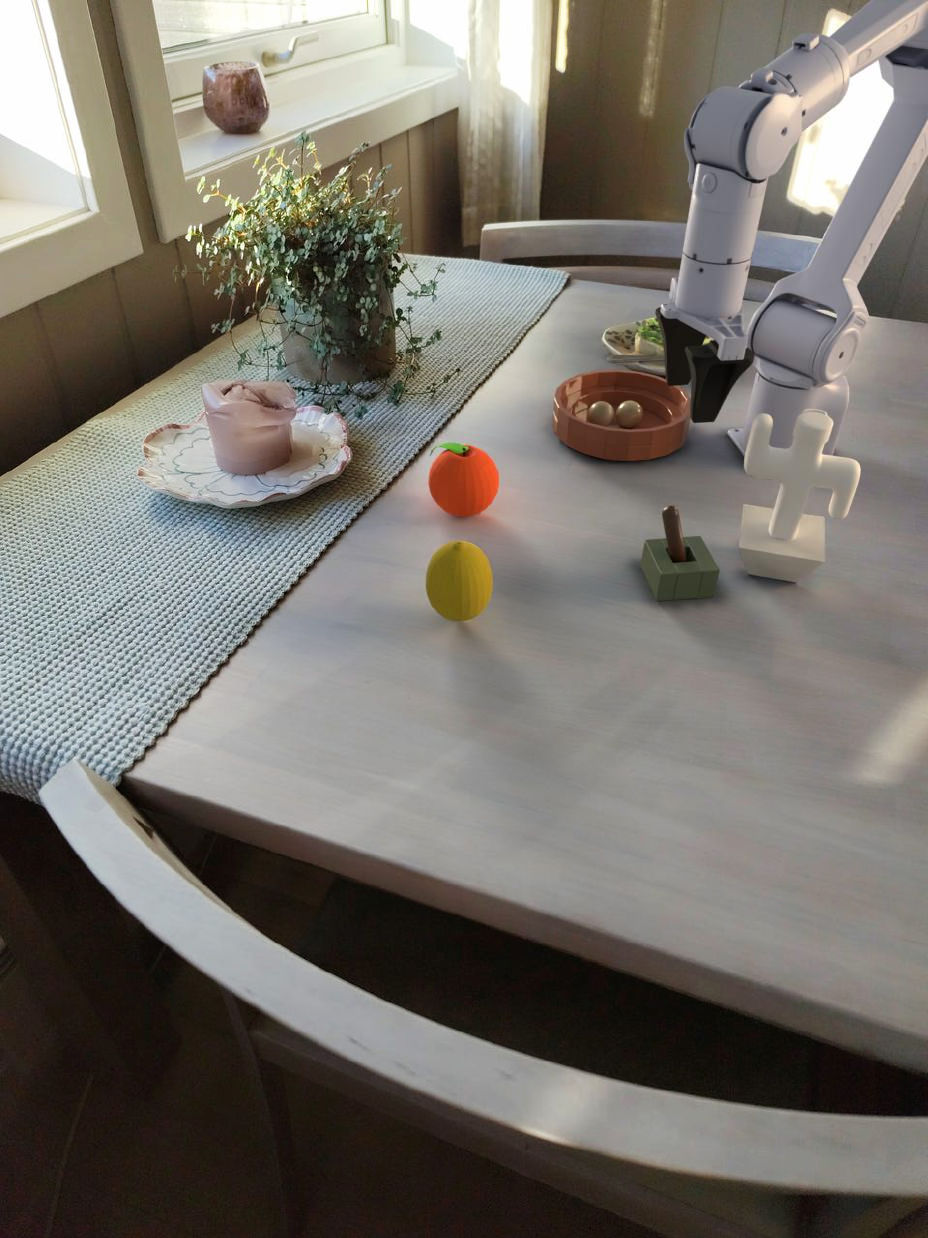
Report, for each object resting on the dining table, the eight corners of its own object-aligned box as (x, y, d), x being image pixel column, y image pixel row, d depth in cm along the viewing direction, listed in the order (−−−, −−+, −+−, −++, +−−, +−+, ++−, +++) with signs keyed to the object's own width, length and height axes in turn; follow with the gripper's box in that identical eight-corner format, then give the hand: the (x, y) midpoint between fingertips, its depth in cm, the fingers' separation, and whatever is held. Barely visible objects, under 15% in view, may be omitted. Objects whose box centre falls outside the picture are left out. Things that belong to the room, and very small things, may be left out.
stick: (675, 574, 79) (662, 501, 73) (691, 575, 78) (679, 501, 72) (672, 585, 78) (659, 512, 72) (688, 586, 77) (675, 512, 72)
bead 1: (617, 413, 99) (620, 405, 96) (605, 435, 99) (606, 429, 96) (594, 400, 100) (596, 393, 97) (582, 423, 100) (583, 416, 97)
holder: (694, 562, 80) (700, 535, 78) (713, 597, 76) (720, 570, 74) (639, 566, 80) (644, 539, 78) (656, 601, 76) (661, 574, 74)
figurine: (826, 597, 76) (880, 446, 66) (717, 578, 78) (753, 428, 69) (826, 551, 81) (875, 404, 72) (723, 534, 84) (758, 389, 74)
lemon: (425, 600, 76) (422, 524, 71) (488, 597, 76) (490, 521, 71) (428, 642, 72) (426, 565, 66) (495, 639, 72) (497, 561, 67)
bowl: (663, 397, 106) (668, 366, 103) (704, 460, 94) (711, 427, 92) (541, 404, 104) (543, 372, 102) (567, 468, 93) (570, 435, 90)
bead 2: (650, 420, 97) (645, 396, 98) (628, 417, 96) (623, 393, 97) (635, 433, 100) (630, 410, 101) (613, 431, 98) (608, 408, 99)
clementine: (407, 508, 87) (404, 445, 82) (452, 481, 91) (452, 419, 86) (467, 539, 83) (467, 474, 78) (512, 509, 87) (515, 445, 82)
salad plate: (642, 398, 105) (647, 362, 102) (567, 344, 118) (570, 310, 115) (767, 369, 112) (776, 335, 109) (684, 321, 124) (689, 289, 121)
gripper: (647, 229, 78) (628, 371, 87) (699, 285, 67) (671, 441, 76) (722, 226, 79) (696, 367, 88) (785, 281, 68) (748, 436, 77)
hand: (689, 401), depth 82 cm, fingers open, 7 cm apart
